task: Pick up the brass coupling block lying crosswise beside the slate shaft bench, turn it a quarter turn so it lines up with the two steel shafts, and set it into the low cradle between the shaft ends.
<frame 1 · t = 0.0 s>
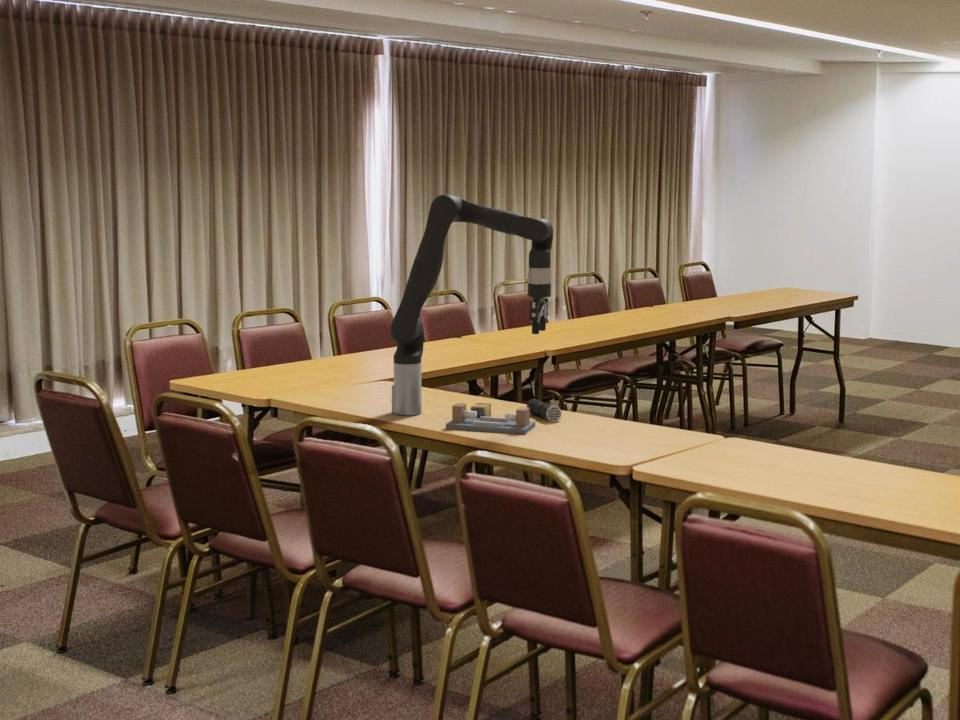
hand: (538, 332, 370), 29 cm above the table, fingers open, 8 cm apart
flashlight: (543, 418, 382), on the table
coupler: (480, 418, 379), on the table
shaft bench: (490, 427, 366), on the table
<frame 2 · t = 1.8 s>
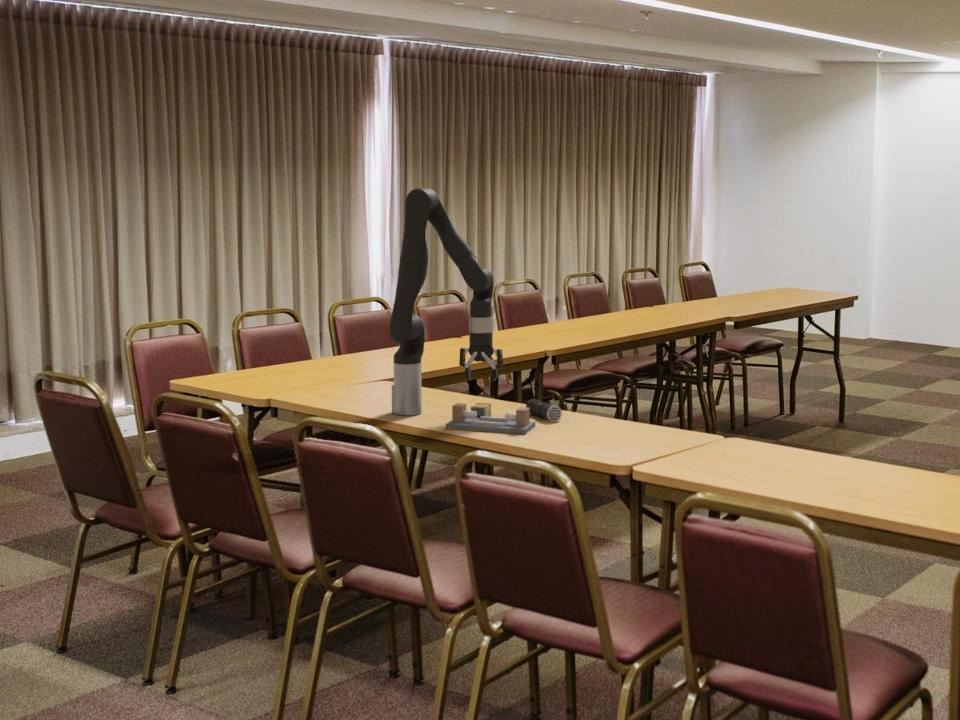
hand: (481, 379, 377), 13 cm above the table, fingers open, 8 cm apart
nothing on the table moved.
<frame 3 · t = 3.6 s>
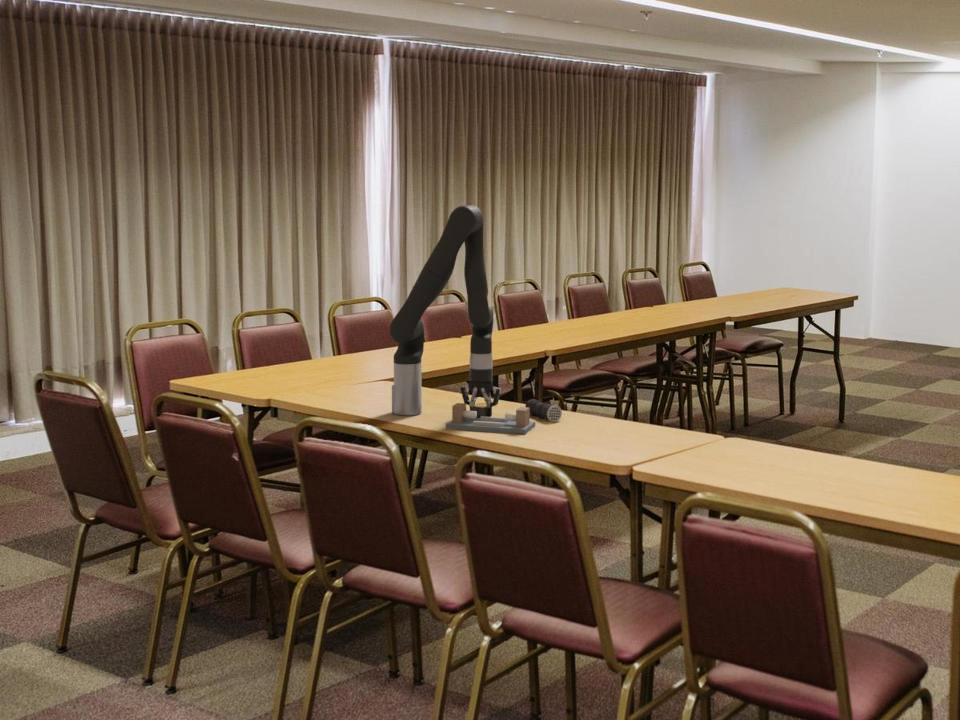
hand: (480, 417, 379), 0 cm above the table, fingers closed on coupler, 4 cm apart
coupler: (480, 418, 379), on the table, touching gripper
everything else where it was.
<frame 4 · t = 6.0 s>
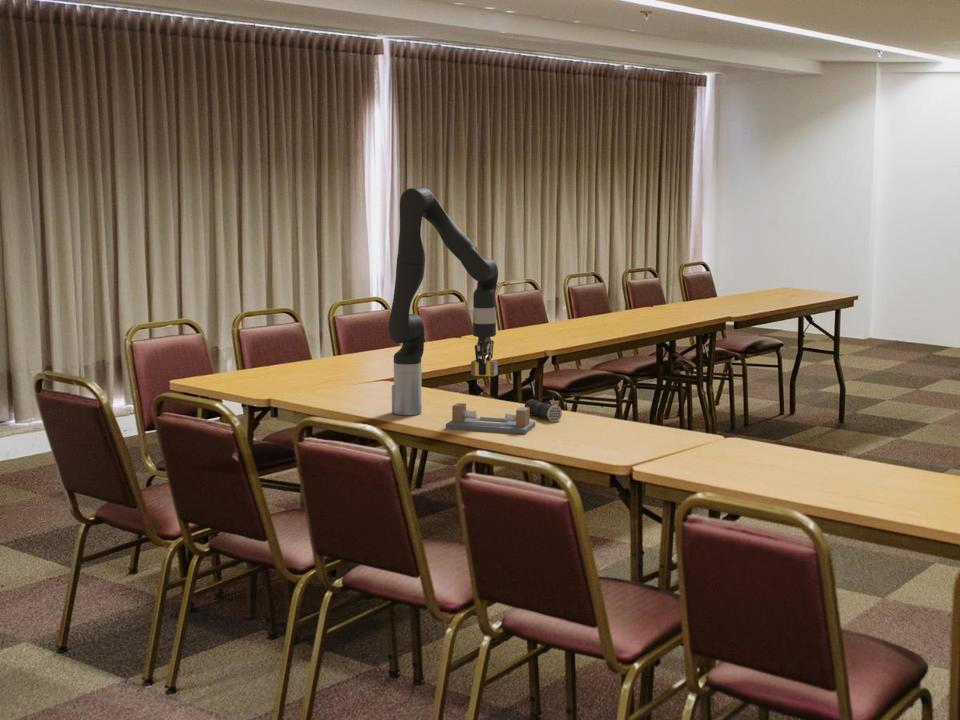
hand: (484, 373, 374), 16 cm above the table, fingers closed on coupler, 4 cm apart
coupler: (484, 374, 374), point 15 cm above the table, touching gripper
everything else where it was.
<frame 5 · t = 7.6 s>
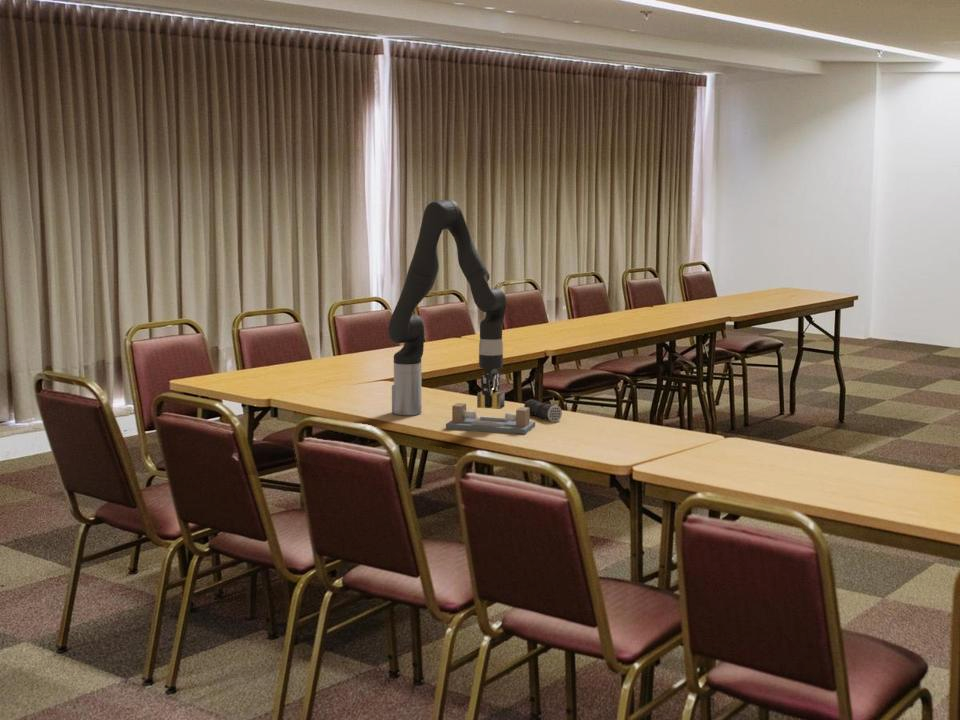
hand: (490, 405, 365), 7 cm above the table, fingers closed on coupler, 4 cm apart
coupler: (490, 407, 365), point 7 cm above the table, touching gripper
everything else where it was.
when the fingers open (3 cm above the table, at t = 8.7 s): coupler drops 1 cm, resting on shaft bench.
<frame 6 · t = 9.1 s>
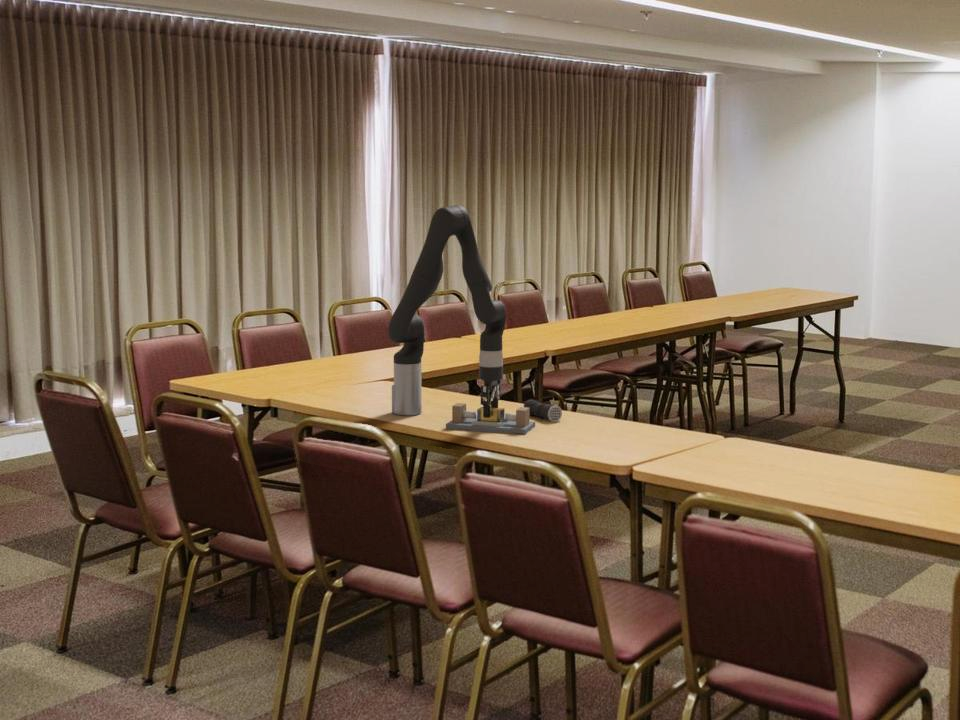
hand: (490, 415, 365), 4 cm above the table, fingers open, 8 cm apart
coupler: (490, 422, 366), point 1 cm above the table, touching shaft bench
everything else where it was.
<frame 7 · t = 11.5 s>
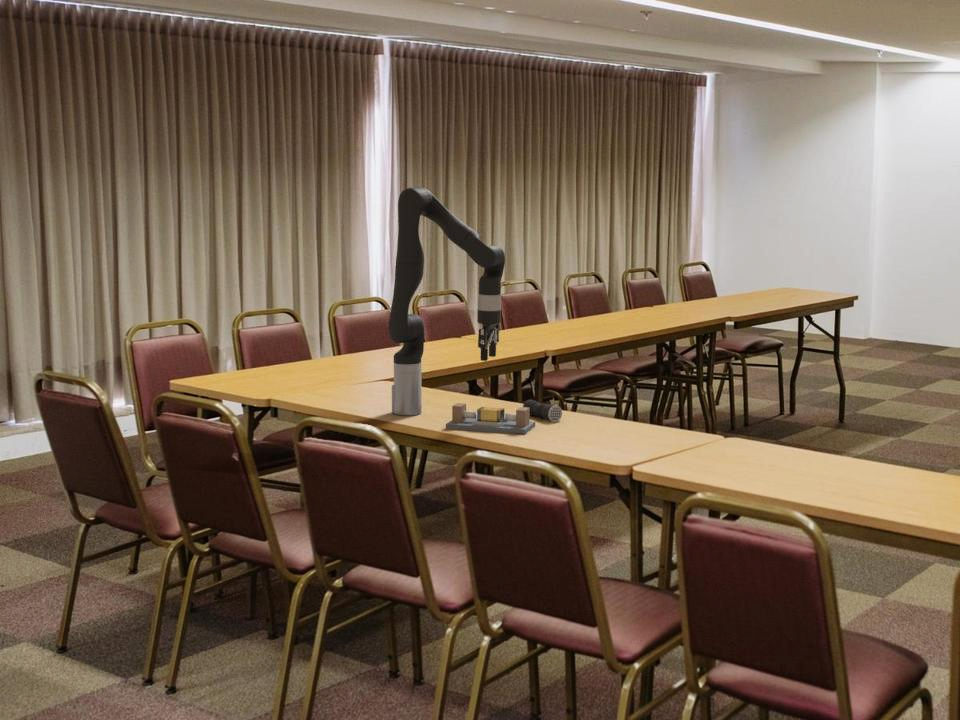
hand: (488, 358, 370), 21 cm above the table, fingers open, 8 cm apart
nothing on the table moved.
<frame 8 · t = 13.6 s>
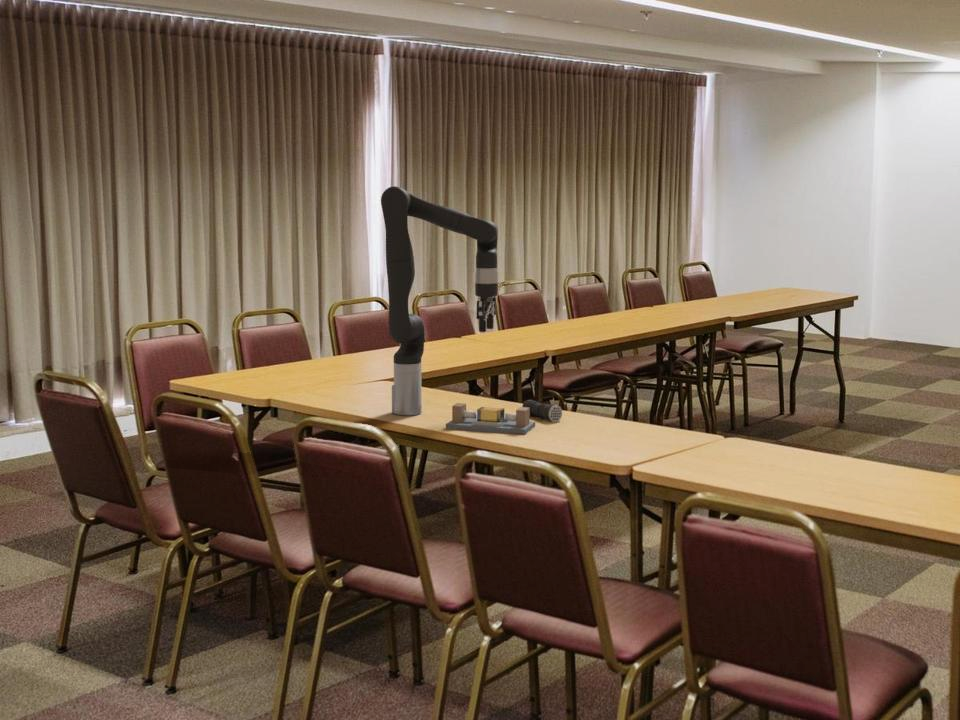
hand: (486, 330, 384), 28 cm above the table, fingers open, 8 cm apart
at the end: coupler 0.0 cm off-centre on the shaft bench, point 1.5 cm above the shaft bench's base; coupler tilted 0°; the gripper is holding nothing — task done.
